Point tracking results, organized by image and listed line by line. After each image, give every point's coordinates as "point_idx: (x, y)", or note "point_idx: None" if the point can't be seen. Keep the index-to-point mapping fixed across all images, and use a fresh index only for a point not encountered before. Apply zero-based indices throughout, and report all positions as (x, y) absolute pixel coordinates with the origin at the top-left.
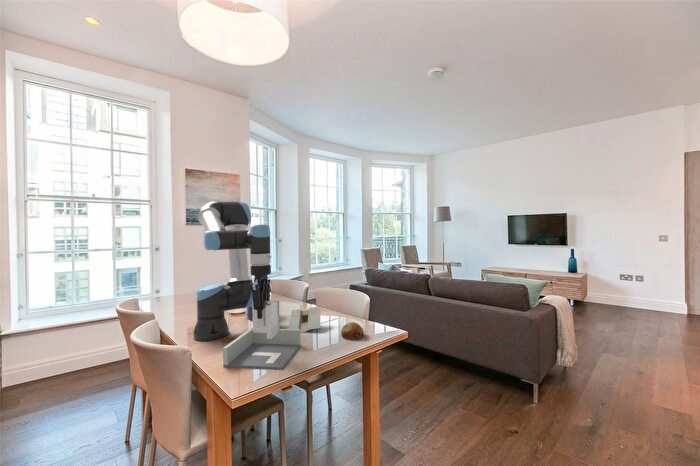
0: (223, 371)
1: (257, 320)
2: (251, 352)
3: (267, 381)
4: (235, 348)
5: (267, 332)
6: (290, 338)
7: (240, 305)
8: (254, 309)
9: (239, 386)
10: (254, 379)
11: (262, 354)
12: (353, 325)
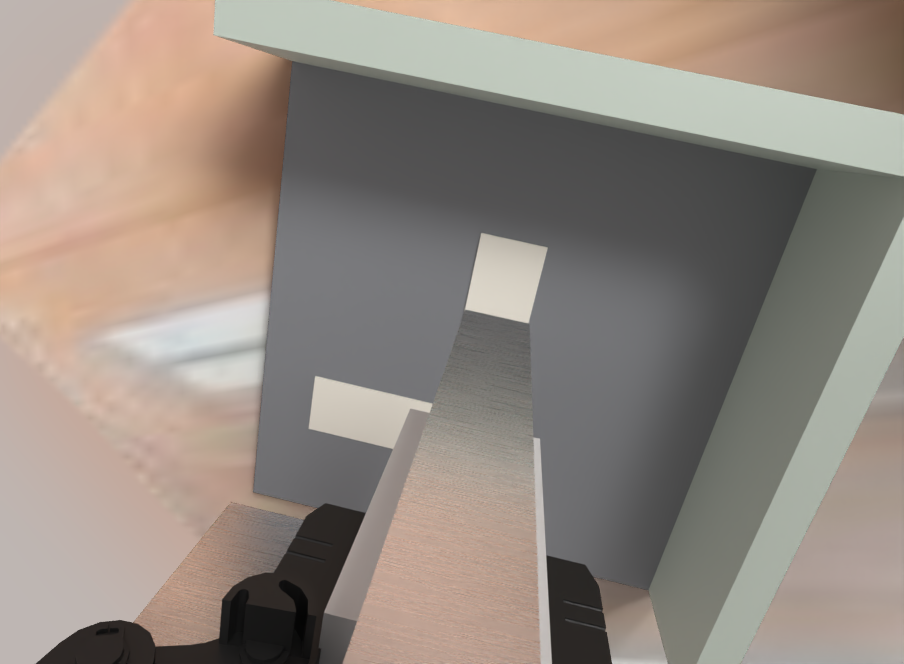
0: (224, 59)
1: (385, 467)
2: (550, 216)
3: (107, 414)
4: (425, 83)
5: (193, 554)
6: (688, 564)
7: None
8: (110, 630)
9: (31, 260)
10: (123, 334)
11: None
12: None
